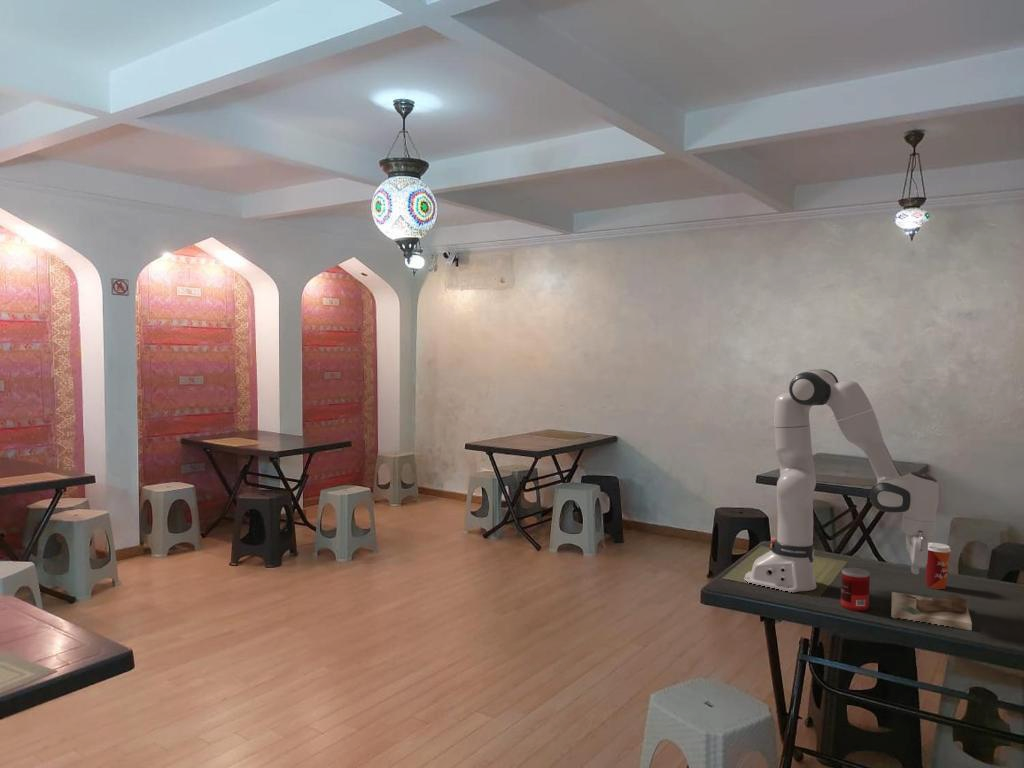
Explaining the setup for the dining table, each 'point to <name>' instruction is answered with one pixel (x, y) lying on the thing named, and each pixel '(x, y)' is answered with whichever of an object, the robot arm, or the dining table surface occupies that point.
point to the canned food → (855, 589)
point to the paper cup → (937, 565)
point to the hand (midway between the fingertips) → (914, 572)
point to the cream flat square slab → (927, 612)
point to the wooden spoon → (943, 604)
